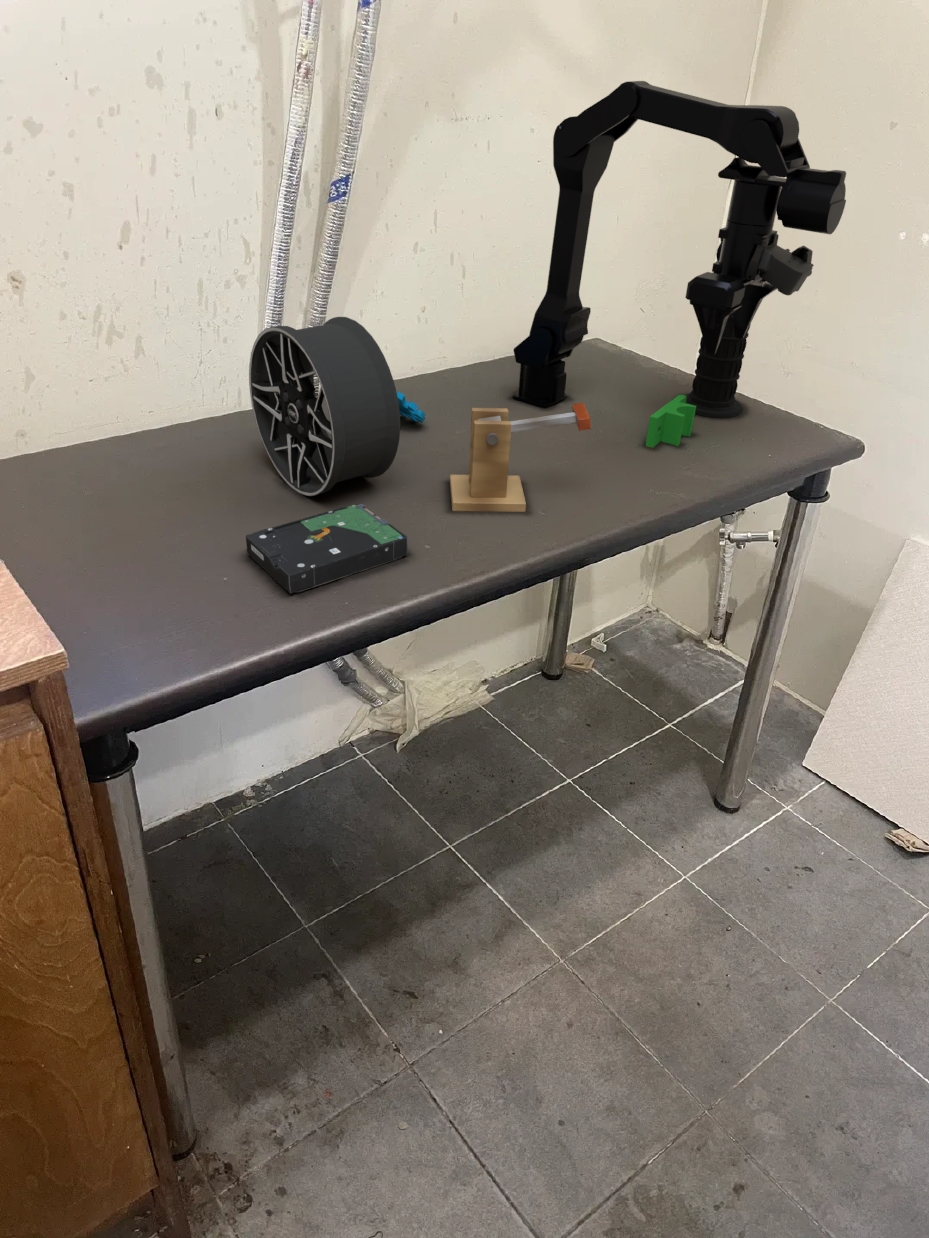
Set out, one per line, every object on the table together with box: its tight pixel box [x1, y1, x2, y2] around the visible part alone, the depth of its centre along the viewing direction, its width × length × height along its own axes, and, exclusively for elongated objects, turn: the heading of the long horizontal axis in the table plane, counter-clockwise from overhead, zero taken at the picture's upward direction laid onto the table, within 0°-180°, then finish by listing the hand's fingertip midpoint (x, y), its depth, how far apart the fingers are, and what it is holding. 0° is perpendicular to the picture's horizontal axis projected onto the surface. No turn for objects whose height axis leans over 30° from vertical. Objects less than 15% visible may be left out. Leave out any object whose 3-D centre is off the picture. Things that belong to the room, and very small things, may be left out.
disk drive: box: [245, 503, 409, 594], centre depth 100 cm, size 10×3×15 cm
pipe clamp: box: [645, 394, 696, 449], centre depth 132 cm, size 11×4×5 cm, turn 147°
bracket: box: [449, 407, 527, 513], centre depth 112 cm, size 9×8×11 cm
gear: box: [396, 390, 426, 424], centre depth 131 cm, size 11×6×10 cm
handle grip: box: [683, 238, 752, 419], centre depth 137 cm, size 10×26×10 cm
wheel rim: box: [248, 316, 401, 497], centre depth 111 cm, size 20×9×20 cm, turn 39°
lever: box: [478, 402, 592, 433], centre depth 110 cm, size 13×5×2 cm, turn 93°
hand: (725, 345), depth 123 cm, fingers open, 9 cm apart
